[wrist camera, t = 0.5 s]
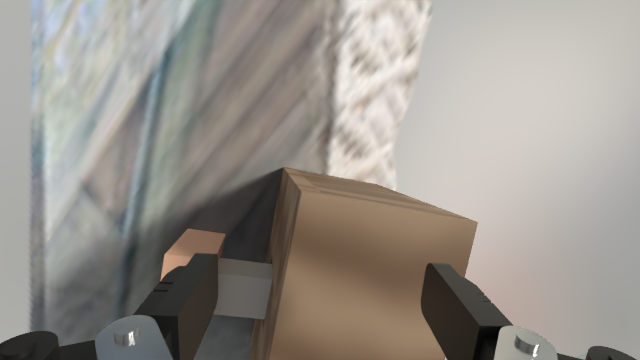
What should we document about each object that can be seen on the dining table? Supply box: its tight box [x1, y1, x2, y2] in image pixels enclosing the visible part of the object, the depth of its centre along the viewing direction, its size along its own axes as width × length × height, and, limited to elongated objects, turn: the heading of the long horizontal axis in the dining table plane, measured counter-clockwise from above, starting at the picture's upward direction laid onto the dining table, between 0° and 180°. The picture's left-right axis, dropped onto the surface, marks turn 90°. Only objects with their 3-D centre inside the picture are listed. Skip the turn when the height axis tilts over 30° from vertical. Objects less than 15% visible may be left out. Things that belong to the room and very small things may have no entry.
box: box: [250, 167, 478, 360], centre depth 25 cm, size 18×10×16 cm, turn 169°
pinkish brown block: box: [160, 229, 273, 348], centre depth 24 cm, size 6×9×6 cm, turn 79°
